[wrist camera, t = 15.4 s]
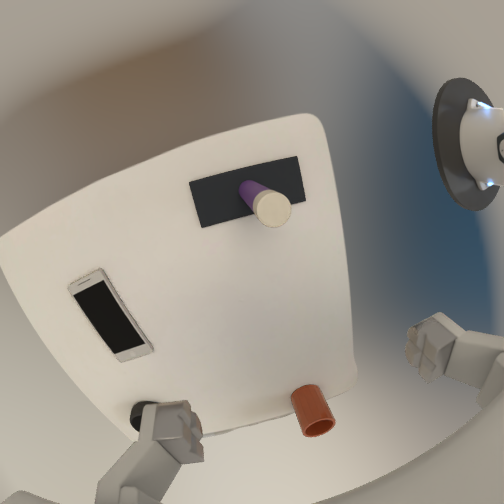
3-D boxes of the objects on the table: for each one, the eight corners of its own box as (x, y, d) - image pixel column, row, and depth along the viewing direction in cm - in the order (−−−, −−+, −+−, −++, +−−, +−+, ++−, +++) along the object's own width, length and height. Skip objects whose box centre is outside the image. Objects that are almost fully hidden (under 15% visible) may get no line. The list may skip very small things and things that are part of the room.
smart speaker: (182, 421, 47) (181, 436, 43) (146, 426, 46) (144, 440, 43) (161, 396, 43) (159, 412, 40) (123, 402, 43) (120, 417, 39)
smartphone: (121, 360, 40) (119, 363, 39) (68, 284, 34) (66, 287, 33) (154, 348, 40) (153, 352, 39) (101, 267, 34) (99, 269, 33)
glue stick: (257, 177, 33) (287, 188, 20) (261, 198, 34) (294, 222, 21) (236, 182, 33) (252, 197, 20) (241, 203, 34) (260, 231, 21)
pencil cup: (319, 380, 47) (335, 413, 39) (321, 398, 50) (335, 429, 41) (288, 390, 47) (301, 425, 39) (292, 407, 49) (304, 440, 41)
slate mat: (296, 156, 33) (297, 156, 33) (304, 200, 36) (306, 200, 35) (189, 182, 33) (188, 182, 32) (201, 227, 35) (201, 227, 34)
